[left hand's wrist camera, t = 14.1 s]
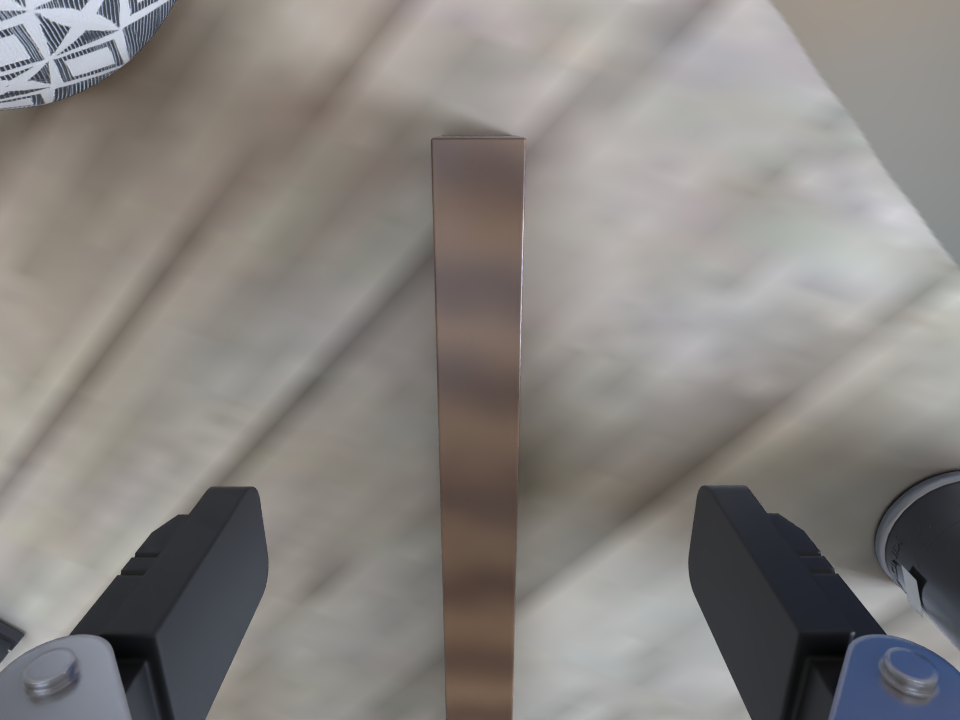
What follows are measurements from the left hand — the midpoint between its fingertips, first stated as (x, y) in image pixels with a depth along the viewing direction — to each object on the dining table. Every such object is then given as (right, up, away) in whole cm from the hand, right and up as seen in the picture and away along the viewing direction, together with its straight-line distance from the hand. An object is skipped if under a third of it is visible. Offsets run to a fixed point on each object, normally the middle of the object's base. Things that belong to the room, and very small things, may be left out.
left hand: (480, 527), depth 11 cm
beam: (0, -12, +32) cm, 34 cm away
